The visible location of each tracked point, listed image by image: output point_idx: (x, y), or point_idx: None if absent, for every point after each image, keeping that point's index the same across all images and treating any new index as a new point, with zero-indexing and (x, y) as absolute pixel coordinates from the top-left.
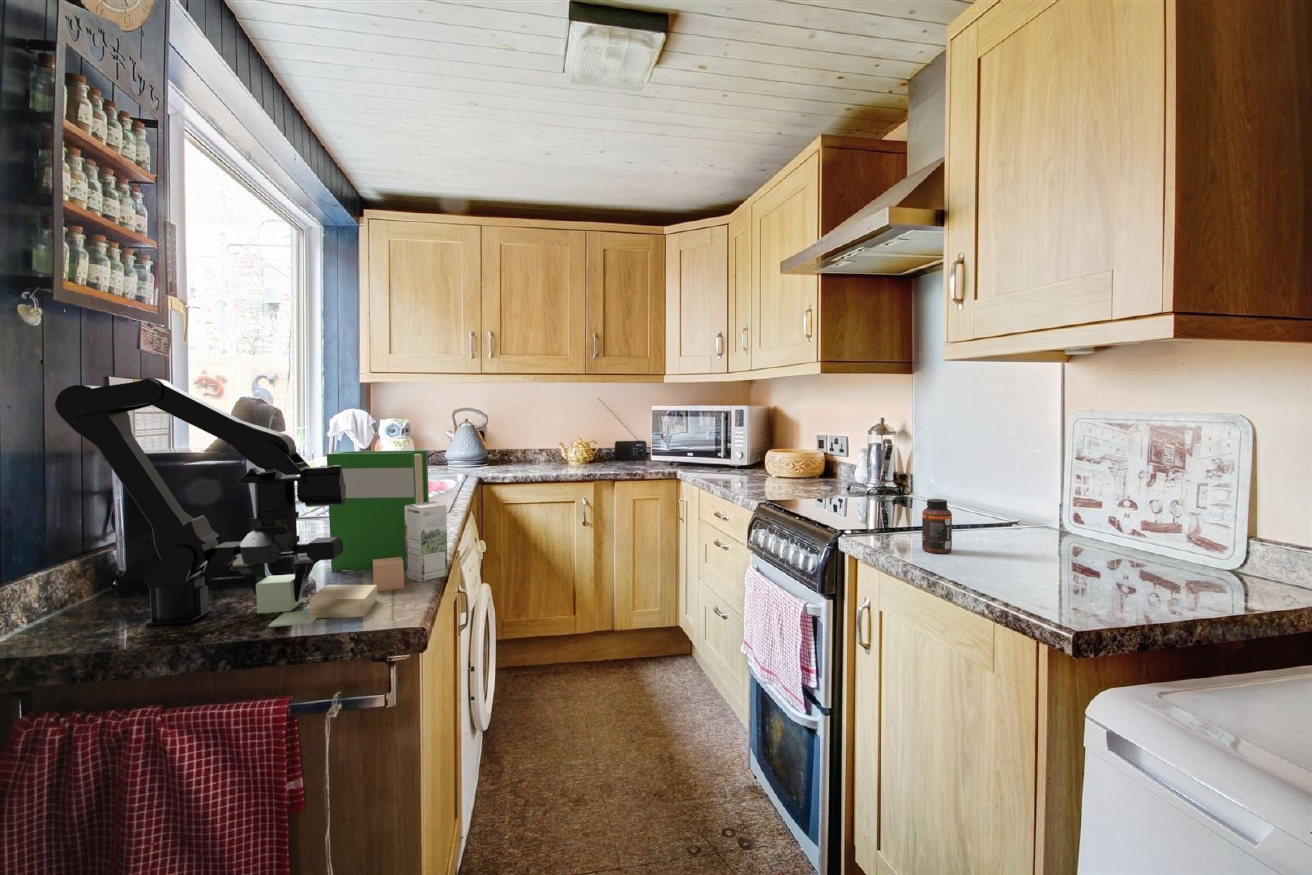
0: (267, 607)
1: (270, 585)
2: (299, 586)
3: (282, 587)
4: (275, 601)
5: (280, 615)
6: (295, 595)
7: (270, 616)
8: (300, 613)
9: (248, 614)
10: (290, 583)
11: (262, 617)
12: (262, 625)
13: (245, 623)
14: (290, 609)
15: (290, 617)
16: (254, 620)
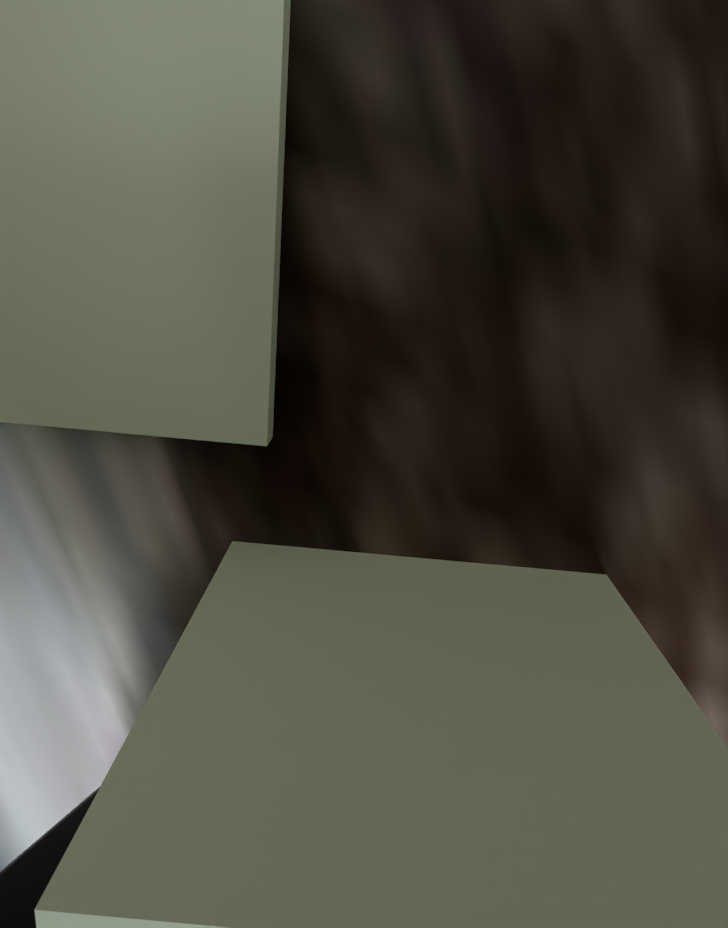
0: (504, 606)
1: (513, 889)
2: (17, 883)
3: (255, 810)
4: (404, 642)
5: (270, 326)
6: None
7: (428, 441)
8: (22, 330)
9: (706, 605)
10: (62, 888)
11: (517, 431)
12: (425, 33)
13: (679, 225)
14: (227, 554)
15: (87, 165)
16: (588, 330)
